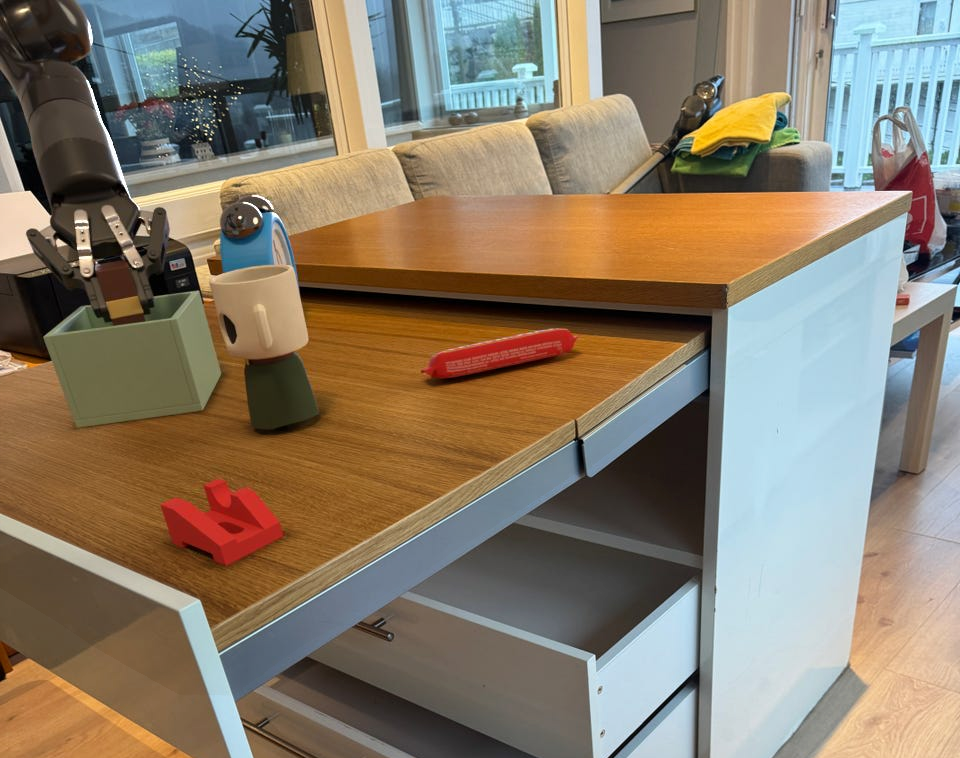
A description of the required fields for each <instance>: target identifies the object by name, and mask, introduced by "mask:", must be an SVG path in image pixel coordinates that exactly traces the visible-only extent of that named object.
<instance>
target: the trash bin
mask: <svg viewBox="0 0 960 758" xmlns="http://www.w3.org/2000/svg"><path fill="white" fill-rule="evenodd" d="M153 297H154V301H155V306H154V307H153V308H150V312H151V314H148V315H144V317H145V320H146V322H139V323H132V324H124V325H117V326H113V323H112V322H107V323H105V322H104V319H103V317H102V318H97V317H96V316H95V315H94V312H93V310H92V307H91V304H89V305H81V306H79V307H78V308H77V309H76V310H74V311H73V312H72V313H71V314H69V315H68V316H67V317H66V318H64V319H63V320H62V321H61V322H60V323H58V324H57V325H56V326H55V327H53V328H52V329H51V330H50V331H49V332H47V333H46V334H45V335H44V336H43V341H44V344H45V346H46V349H47V351H48V354H49V357H50V360H51V362H52V365H53V368H54V371H55V373H56V377H57V378H58V381H59V384H60V386H61V389H62V390H61V391H62V392H63V395H64V398H65V400H66V403H67V406H68V409H69V411H70V414H71V417H72V419H73V422H74V424H75V428H76V429H82V428H87V427H94V426H102V425H110V424H117V423H124V422H131V421H138V420H147V419H153V418H160V417H167V416H175V415H182V414H190V413H196V412H203V411H204V409H205V407H206V405H207V403H208V401H209V399H210V397H211V396H212V393H213V391H214V390H215V387H216V385H217V383H218V381H219V380H220V377H221V375H222V371H221V368H220V363H219V359H218V357H217V353H216V348H215V345H214V340H213V338H212V333H211V329H210V326H209V323H208V319H207V314H206V311H205V308H204V304H203V300H202V296H201V292H200V290H193V291H185V292H178V293H177V292H176V293H170V294H164V295H156V296H153Z"/></svg>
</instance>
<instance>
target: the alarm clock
mask: <svg viewBox="0 0 960 758" xmlns="http://www.w3.org/2000/svg"><path fill="white" fill-rule="evenodd" d="M219 228H220V235H219V236H220V237H219V249H220V262H221V267H222V274H223V273H227V272H230V271H234V270H238V269H244V268H248V267H254V266H262V265H290V266H292V267H293V268H294V271H295V275H296V280H297V285H298V290H299V291H300V286H299V278H298V272H297V266H296V262H295V257H294V253H293V252H294V251H293V249H292V245H291V241H290V238H289V236H288V231H287V229H286V227H285V225H284V222H283V221H282V219H281V218H280V216H279V215H278V214H277V213H275V210H274V207H273V205H272V204H271V203H270V201H269V200H267V199H265V197H263V196H259V195H254V194H249V195H245V196H242V197H240V198H239V199H238V200H237V201H236V202H234V203H231V204H229V205H228V206H227V207H225V208H224V209H223V211H222V213H221V215H220V217H219Z"/></svg>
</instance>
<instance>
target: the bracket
mask: <svg viewBox="0 0 960 758" xmlns="http://www.w3.org/2000/svg"><path fill="white" fill-rule="evenodd" d="M203 489H204V492H205V496H206V499H207V502H208V504H209V508H210V510H208V511H206V512H203V511H202V510H200V509H199V508H197V506H195V505H194V504H193V503H191V502H190V501H188V500H185V499H182V498H179V497H176V496H175V497H173V498H171V499H169V500H167V501H164V502H162V503H160V504H159V505H160V508H161V511H162V514H163V517H164V520H165V523H166V526H167V530H168V532H169V535H170V539H171V542H172V544H173V545H176V546H178V547H181V548H183V549H184V548H187V547H189V546H193V547H195V548H197V549H199V550H202V551H205V552H207V553H210V554H211V555H212V558H213V561H214V562H216V563H218V564H220V565H223V566H225V567H227V566H229V565H231V564H232V563H234V562H237V561H238V560H241V559H242V558H244V557H246V556H248V555H250V554H252V553H254V552H255V551H257V550H260V549H262V548H264V547H265V546H268V545H269V544H272V543H273V542H276V541H277V540H279V539H281V538H284V534H283V530H282V525H281V522H280V520H279V519H278V518H277V517H276V516H275V514H273V512H272V511H271V510H270V509H269V507H268V506H267V505H266V504H265V502H264V501H263V500H262V499H261V498H260V496H259V495H258V494H257V493H256V491H255V490H254V489H252V488H249V487H242V488H240V489H238V490H236V491H234V492H231V490H230V488H229V486H228V484H227V480H224V479H220V478H217V479H214V480H212V481H209V482H208V483H205V484H203Z"/></svg>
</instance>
